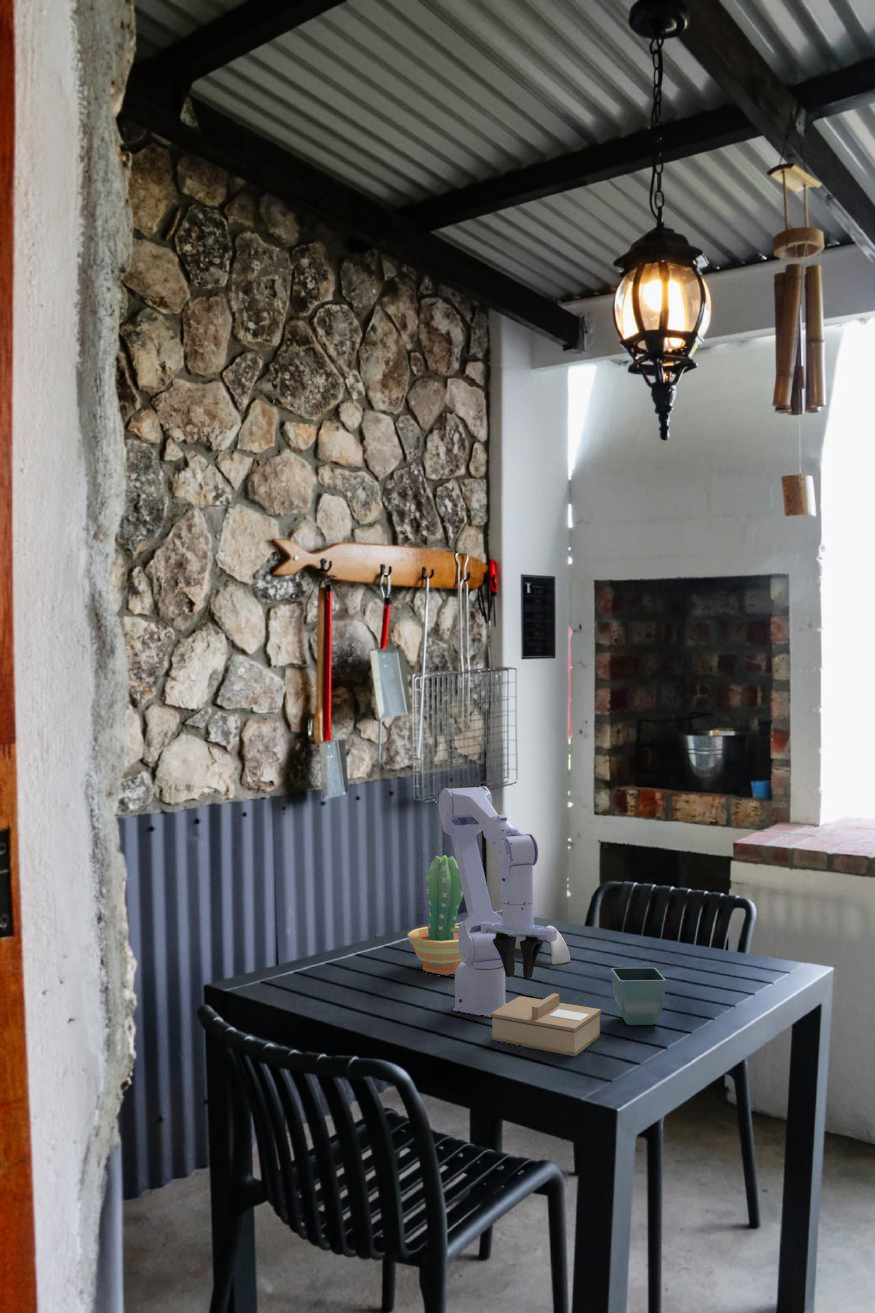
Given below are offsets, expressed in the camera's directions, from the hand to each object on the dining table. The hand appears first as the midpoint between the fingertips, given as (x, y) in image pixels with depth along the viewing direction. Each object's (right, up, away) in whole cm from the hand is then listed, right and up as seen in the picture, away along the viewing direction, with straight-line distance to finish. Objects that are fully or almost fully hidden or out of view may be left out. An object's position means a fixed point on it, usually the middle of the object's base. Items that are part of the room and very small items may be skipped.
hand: (519, 977), depth 196 cm
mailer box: (+5, -10, -3) cm, 12 cm away
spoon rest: (+8, -11, +57) cm, 58 cm away
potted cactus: (-14, -11, +42) cm, 46 cm away
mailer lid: (+5, -6, -3) cm, 8 cm away
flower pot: (+23, -10, +6) cm, 26 cm away
